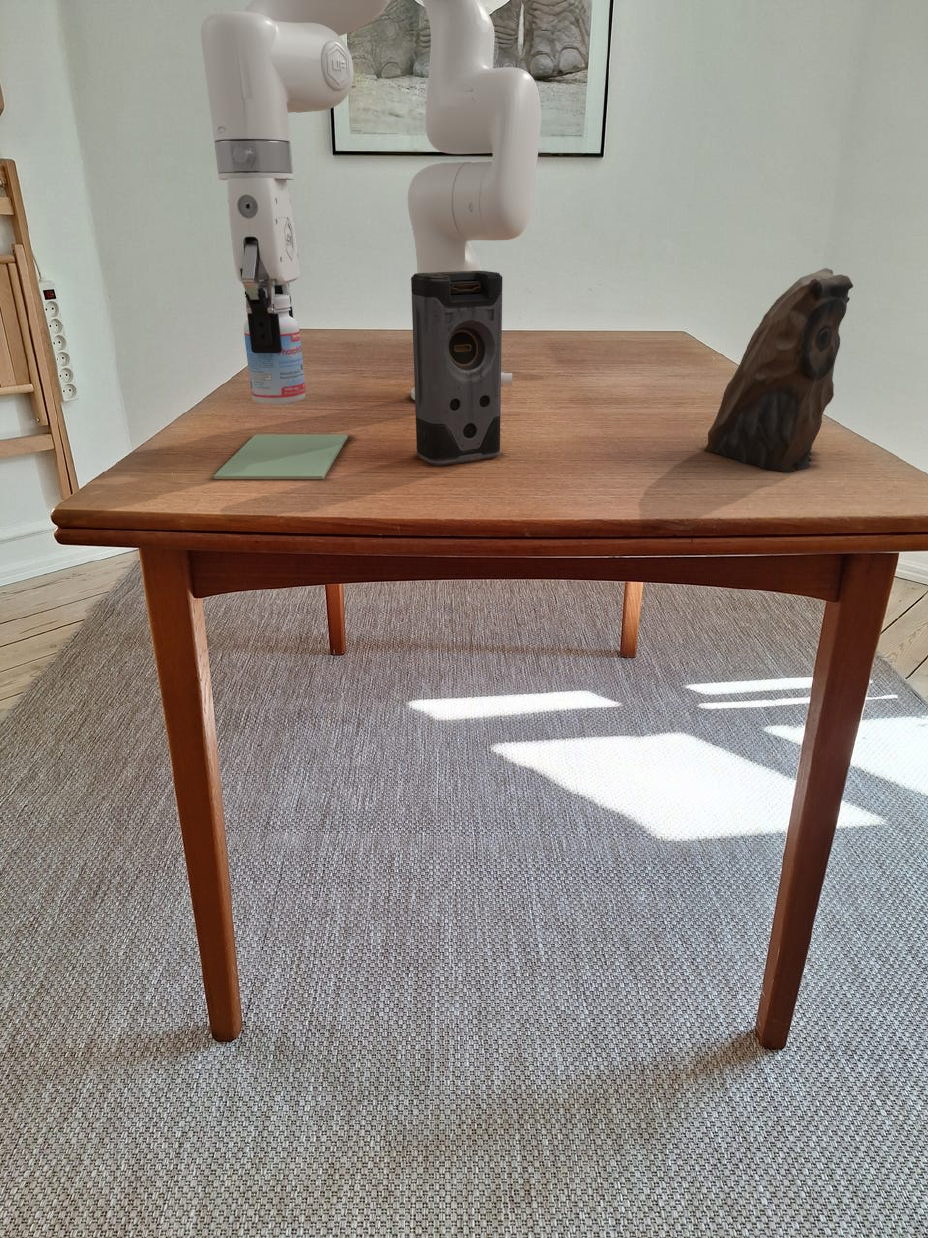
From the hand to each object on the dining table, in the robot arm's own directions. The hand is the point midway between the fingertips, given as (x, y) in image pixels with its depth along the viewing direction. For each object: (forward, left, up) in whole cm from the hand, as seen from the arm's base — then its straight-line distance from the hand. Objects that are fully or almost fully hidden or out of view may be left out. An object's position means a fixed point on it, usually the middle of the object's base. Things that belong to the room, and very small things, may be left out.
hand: (274, 346), depth 91 cm
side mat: (0, 0, -13) cm, 13 cm away
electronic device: (-21, 0, -13) cm, 24 cm away
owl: (-57, -1, -13) cm, 58 cm away
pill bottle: (0, 0, -6) cm, 6 cm away
